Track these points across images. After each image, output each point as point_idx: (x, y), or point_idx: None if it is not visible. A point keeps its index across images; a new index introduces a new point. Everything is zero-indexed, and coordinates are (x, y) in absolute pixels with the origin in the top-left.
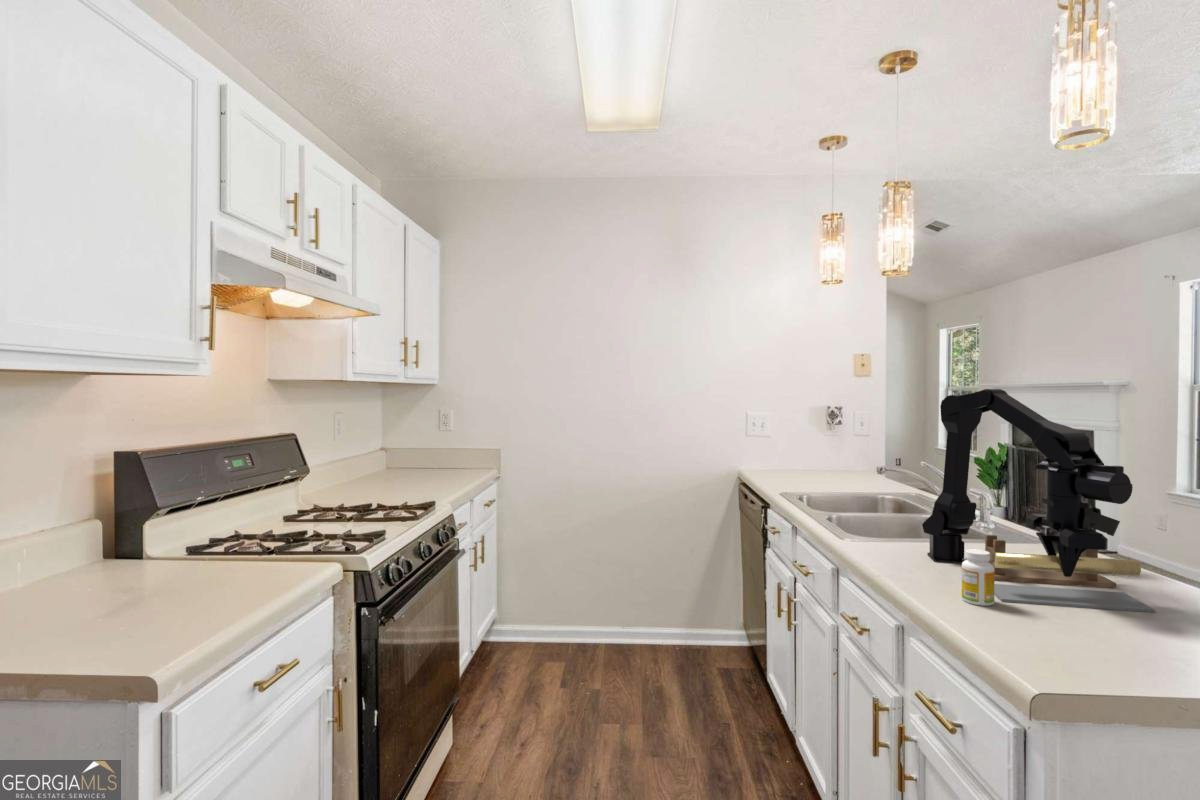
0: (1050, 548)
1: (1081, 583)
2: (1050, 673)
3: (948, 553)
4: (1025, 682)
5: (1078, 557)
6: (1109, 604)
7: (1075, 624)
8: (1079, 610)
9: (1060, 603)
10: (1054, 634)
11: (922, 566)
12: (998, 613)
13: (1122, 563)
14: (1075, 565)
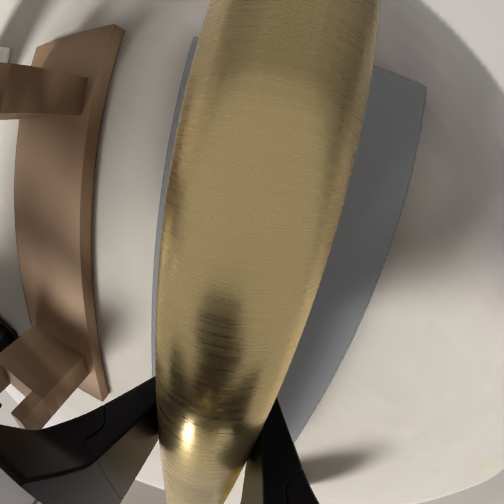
0: (126, 483)
1: (92, 138)
2: (493, 467)
3: None
4: (486, 479)
5: (313, 498)
6: (366, 227)
7: (441, 411)
8: (375, 354)
9: (328, 384)
10: (449, 449)
11: (66, 412)
12: (345, 479)
13: (354, 68)
14: (295, 448)
